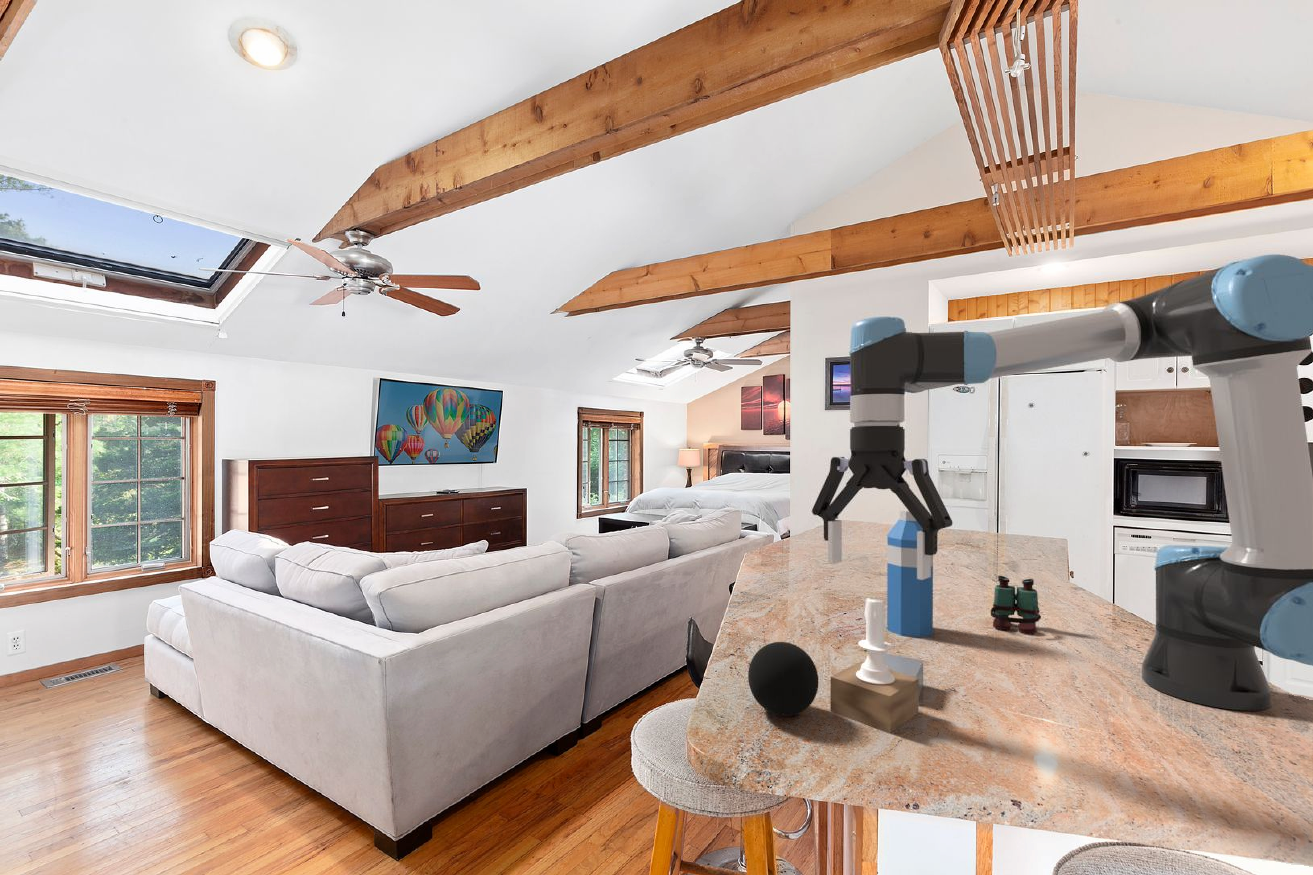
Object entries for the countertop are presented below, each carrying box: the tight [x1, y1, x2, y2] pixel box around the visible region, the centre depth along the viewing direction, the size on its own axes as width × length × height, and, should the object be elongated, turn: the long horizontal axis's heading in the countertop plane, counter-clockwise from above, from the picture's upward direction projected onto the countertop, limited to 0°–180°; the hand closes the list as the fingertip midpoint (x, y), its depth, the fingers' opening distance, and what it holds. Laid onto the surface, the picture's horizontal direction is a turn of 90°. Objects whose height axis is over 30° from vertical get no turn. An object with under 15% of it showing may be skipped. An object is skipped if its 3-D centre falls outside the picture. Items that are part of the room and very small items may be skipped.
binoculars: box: [990, 575, 1042, 635], centre depth 125 cm, size 9×11×10 cm
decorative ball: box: [747, 641, 819, 717], centre depth 87 cm, size 10×10×10 cm
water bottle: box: [886, 508, 934, 638], centre depth 124 cm, size 9×9×25 cm
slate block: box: [863, 652, 924, 695], centre depth 95 cm, size 8×8×4 cm
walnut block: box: [829, 661, 920, 734], centre depth 87 cm, size 9×9×5 cm
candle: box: [856, 594, 895, 685], centre depth 87 cm, size 5×5×12 cm
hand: (876, 570), depth 87 cm, fingers open, 13 cm apart
